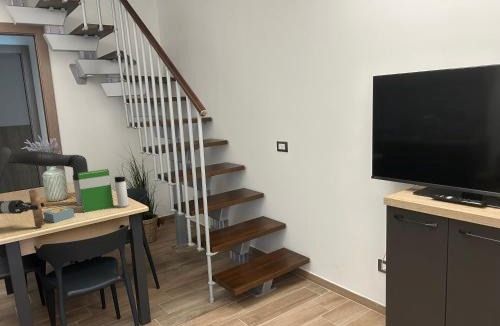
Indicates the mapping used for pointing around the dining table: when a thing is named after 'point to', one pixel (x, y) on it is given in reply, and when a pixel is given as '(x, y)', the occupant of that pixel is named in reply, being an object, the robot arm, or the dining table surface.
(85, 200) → the hardback book
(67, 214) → the socket block
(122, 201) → the travel mug
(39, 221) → the peg
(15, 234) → the dining table surface
